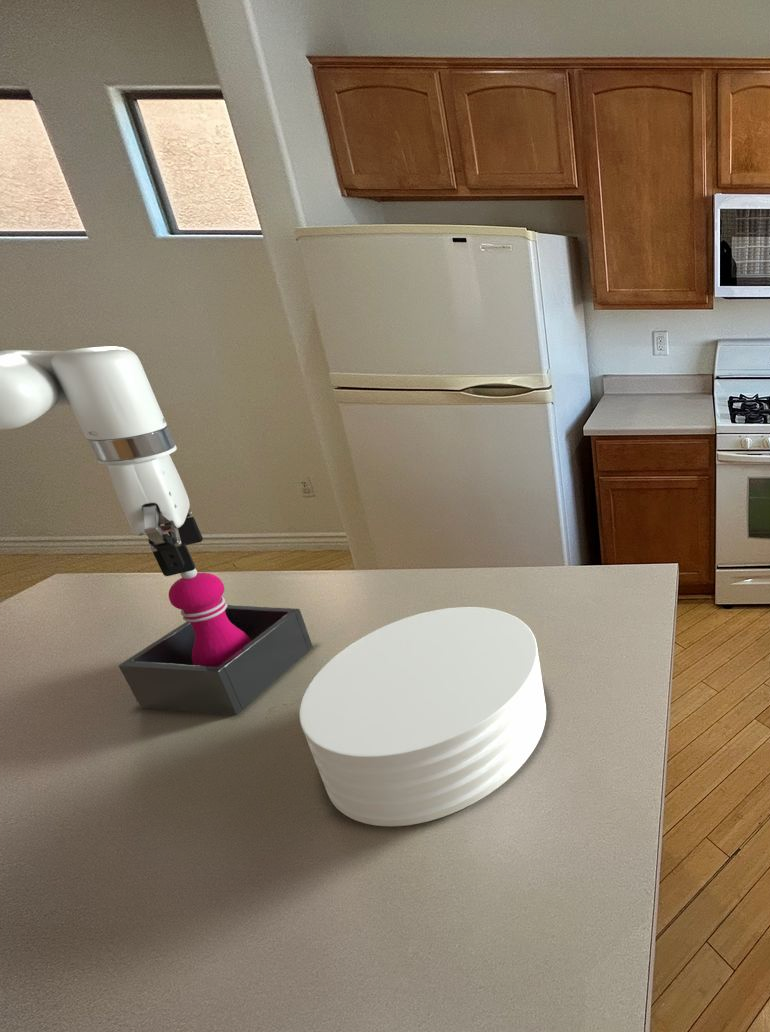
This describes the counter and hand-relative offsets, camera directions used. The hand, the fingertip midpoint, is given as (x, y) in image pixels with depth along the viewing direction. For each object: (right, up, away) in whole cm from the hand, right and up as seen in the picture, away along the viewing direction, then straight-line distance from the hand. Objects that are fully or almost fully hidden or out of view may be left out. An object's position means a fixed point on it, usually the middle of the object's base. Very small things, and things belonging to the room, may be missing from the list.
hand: (185, 557), depth 79 cm
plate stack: (+38, -25, -1) cm, 45 cm away
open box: (-1, -20, +9) cm, 22 cm away
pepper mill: (-1, -20, +9) cm, 22 cm away
